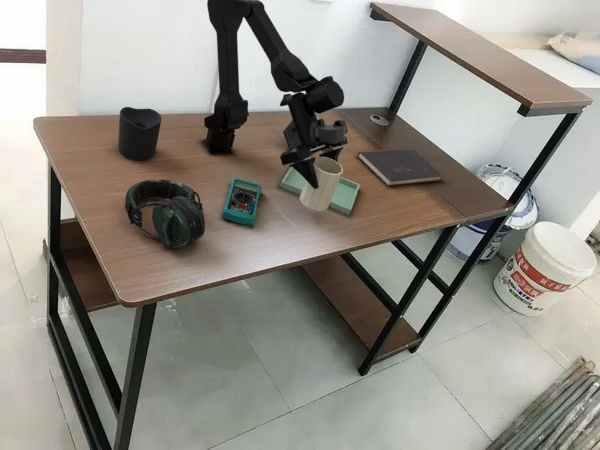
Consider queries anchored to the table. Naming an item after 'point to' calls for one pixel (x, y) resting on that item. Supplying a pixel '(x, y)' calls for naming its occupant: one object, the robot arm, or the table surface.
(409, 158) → the hardcover book
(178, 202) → the headphones
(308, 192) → the cup
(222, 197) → the table surface
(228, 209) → the digital multimeter
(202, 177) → the table surface
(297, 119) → the robot arm
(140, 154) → the pen holder
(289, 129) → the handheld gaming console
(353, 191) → the tray
